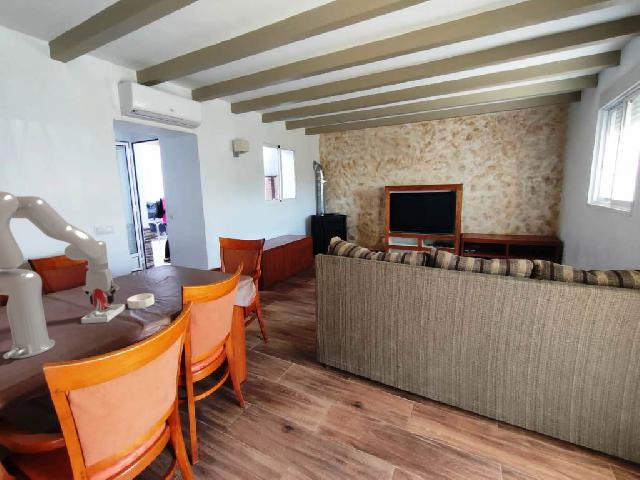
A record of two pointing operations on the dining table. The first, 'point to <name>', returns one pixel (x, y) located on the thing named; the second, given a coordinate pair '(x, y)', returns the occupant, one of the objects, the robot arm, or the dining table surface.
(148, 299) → the bowl
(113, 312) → the parts tray
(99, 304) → the soda can
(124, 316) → the dining table surface
